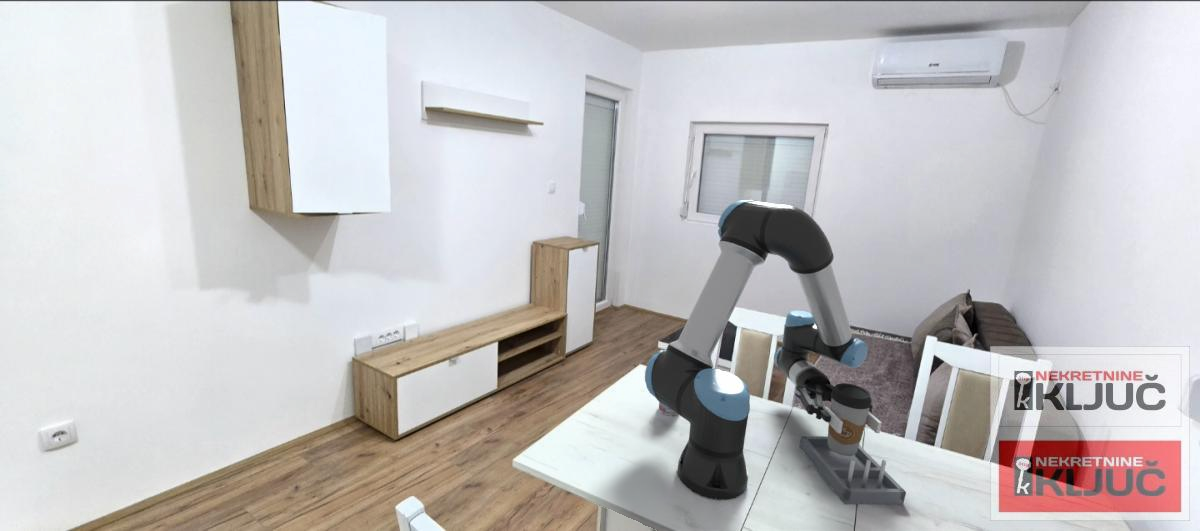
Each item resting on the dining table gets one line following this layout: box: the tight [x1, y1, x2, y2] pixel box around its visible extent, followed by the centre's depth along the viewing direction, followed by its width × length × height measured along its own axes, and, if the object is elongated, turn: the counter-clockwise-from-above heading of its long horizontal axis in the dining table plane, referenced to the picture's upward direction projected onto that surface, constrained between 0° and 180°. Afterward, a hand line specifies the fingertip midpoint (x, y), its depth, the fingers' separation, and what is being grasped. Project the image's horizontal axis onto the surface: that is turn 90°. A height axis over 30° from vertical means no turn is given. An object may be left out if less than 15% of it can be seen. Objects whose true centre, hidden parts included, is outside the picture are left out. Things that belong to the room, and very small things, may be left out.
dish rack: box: [798, 435, 907, 505], centre depth 108 cm, size 20×13×8 cm, turn 4°
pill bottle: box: [658, 401, 678, 416], centre depth 131 cm, size 6×6×11 cm
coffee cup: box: [827, 382, 873, 456], centre depth 110 cm, size 8×8×15 cm
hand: (859, 427), depth 105 cm, fingers closed on coffee cup, 8 cm apart
